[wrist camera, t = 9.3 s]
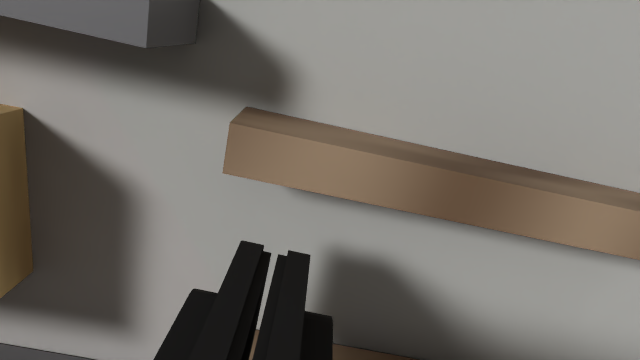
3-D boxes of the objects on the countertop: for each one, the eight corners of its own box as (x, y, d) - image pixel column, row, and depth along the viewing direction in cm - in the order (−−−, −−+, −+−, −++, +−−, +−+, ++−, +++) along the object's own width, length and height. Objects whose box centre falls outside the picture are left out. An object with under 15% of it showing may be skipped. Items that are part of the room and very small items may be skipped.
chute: (661, 197, 11) (728, 230, 10) (542, 409, 14) (575, 466, 12) (246, 106, 11) (229, 122, 9) (208, 350, 14) (189, 401, 12)
